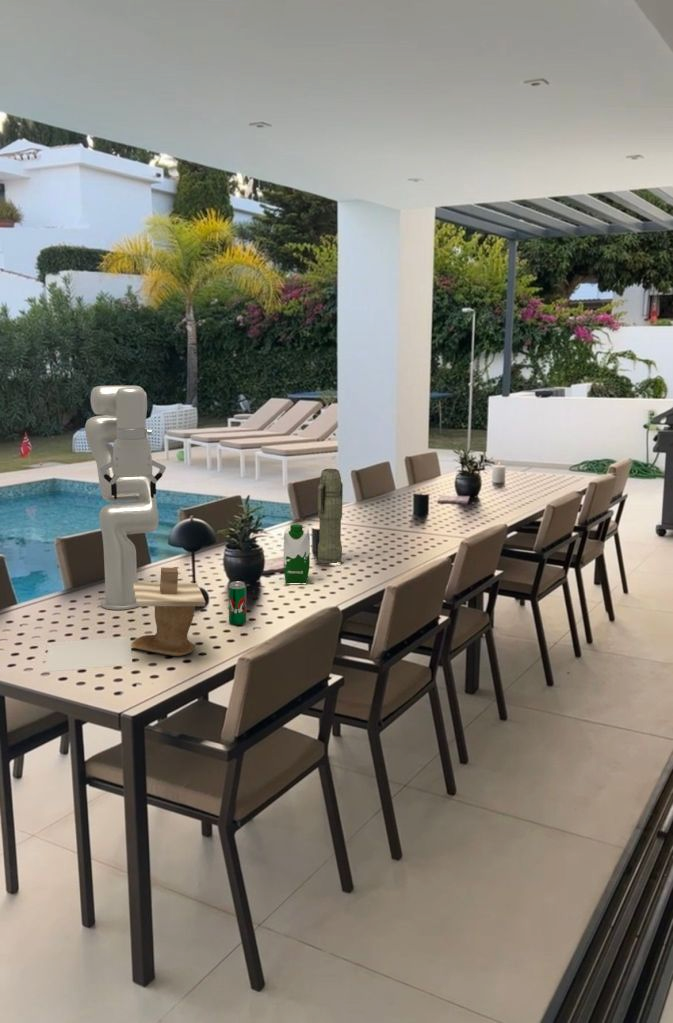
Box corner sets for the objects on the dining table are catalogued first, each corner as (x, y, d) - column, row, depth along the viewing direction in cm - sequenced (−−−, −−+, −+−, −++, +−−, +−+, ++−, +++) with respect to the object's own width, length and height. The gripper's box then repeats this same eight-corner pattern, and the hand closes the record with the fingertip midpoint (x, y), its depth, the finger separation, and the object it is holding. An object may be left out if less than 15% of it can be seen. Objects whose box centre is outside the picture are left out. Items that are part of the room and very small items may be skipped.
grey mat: (49, 644, 229) (49, 642, 229) (130, 638, 234) (129, 636, 234) (44, 674, 209) (43, 671, 209) (132, 666, 214) (132, 664, 214)
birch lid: (132, 586, 228) (134, 560, 227) (196, 587, 233) (198, 561, 232) (136, 605, 212) (137, 577, 211) (205, 606, 217) (207, 578, 216)
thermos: (310, 564, 313) (310, 470, 307) (329, 558, 323) (329, 466, 316) (330, 568, 308) (331, 472, 302) (348, 562, 318) (349, 468, 311)
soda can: (246, 620, 250) (246, 580, 248) (245, 626, 246) (245, 585, 243) (229, 620, 250) (229, 580, 248) (228, 626, 245) (227, 585, 243)
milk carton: (282, 585, 287) (282, 526, 283) (284, 577, 296) (284, 521, 292) (308, 585, 287) (309, 527, 283) (310, 578, 296) (310, 521, 292)
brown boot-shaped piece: (205, 648, 228) (204, 593, 225) (179, 662, 217) (177, 606, 214) (158, 639, 234) (156, 586, 231) (130, 653, 223) (128, 598, 220)
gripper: (163, 432, 234) (165, 494, 237) (98, 433, 229) (100, 496, 233) (165, 435, 227) (167, 499, 230) (98, 436, 222) (100, 501, 226)
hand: (134, 497), depth 231 cm, fingers open, 9 cm apart
